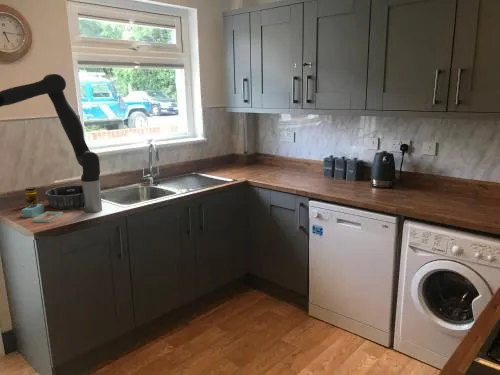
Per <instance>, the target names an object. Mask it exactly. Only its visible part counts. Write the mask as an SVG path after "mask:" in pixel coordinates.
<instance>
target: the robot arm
mask: <svg viewBox="0 0 500 375" xmlns="http://www.w3.org/2000/svg"><path fill="white" fill-rule="evenodd" d="M66 87H67V81H66V79H65V78H64V76H62V75H60V74H59V73H58V74H56V73H49V74H46V75H44V77H43V78H42V79H41V80H38V81H36V82H32V83H29V84H27V83H26V84H22V85H18V86H13V87H8V88H6V89H4V90H0V108H1V107H4V106H10V105H15V104H17V103H20V102H23V101H26V100H30V99H31V98H35V97H38V96H42V95H43V96H44V95H48V98H49V100H50V101H51V103H52V105H53V107H54V110H55V112H56V115H57V117H58V119H59V121H60V124H61V127H62V128H63V130H64V132H65V135H66V138H67V139H68V140H69V142H70V144H71V146H72V149H73V152H74V154H75V158H76V161H77V163H78V164H79V166H81V167H82V174H81V177H80V180H81V185H82V191H83V200H84V207H83V208H84V209H83V210H84V212H85V213H97V212H101V211H103V205H102V204H103V203H102V194H101V183H100V175H101V168H100V166H101V164H100V157H99V156H98V154H97V153H96V152H94V151H91V150H90V148H89V147H88V145H87V143H86V139H85V135H84V127H83V124H82V122H81V119H80V117H79V115H78V114H77V111H76V110H75V109H74V107H73V106H72V105H71V103H70V101H69V100H68V99H67V97H66V94H65V92H64V90H65V89H66Z"/></svg>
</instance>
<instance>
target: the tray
mask: <svg viewBox="0 0 500 375" xmlns="http://www.w3.org/2000/svg"><path fill="white" fill-rule="evenodd" d="M63 215H64V212H63V211H44V213H42V214H40V215H38V216H35V217H34V218H32V219H31V221H32V223H51V222H52V221H54V220H56V219H58V218H59V217H61V216H63ZM46 216H50V217H49V218H45V217H46Z"/></svg>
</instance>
